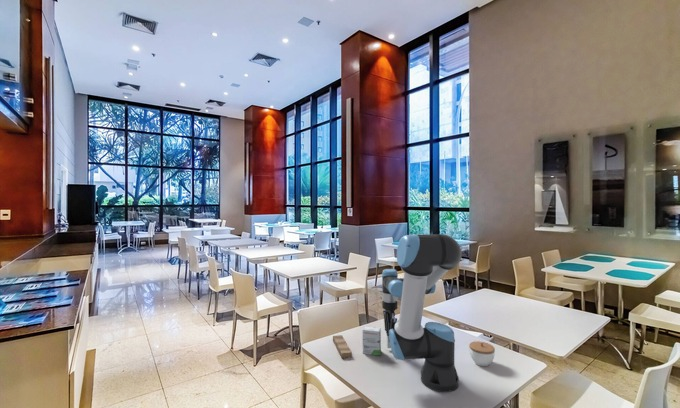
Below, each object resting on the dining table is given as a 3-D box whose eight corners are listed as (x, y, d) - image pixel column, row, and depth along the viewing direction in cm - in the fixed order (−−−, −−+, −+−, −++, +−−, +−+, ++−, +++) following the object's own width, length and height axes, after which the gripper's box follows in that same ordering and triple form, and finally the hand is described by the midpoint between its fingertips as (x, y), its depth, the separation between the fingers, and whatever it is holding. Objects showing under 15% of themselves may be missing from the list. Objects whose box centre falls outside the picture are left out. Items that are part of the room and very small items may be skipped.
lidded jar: (497, 370, 141) (497, 349, 141) (471, 367, 144) (471, 346, 144) (491, 358, 152) (491, 339, 152) (467, 356, 154) (467, 336, 154)
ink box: (381, 351, 159) (381, 327, 159) (379, 356, 155) (379, 331, 155) (364, 349, 162) (364, 325, 162) (362, 353, 157) (362, 329, 157)
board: (351, 357, 153) (351, 352, 153) (341, 358, 152) (341, 353, 152) (341, 339, 173) (341, 335, 173) (332, 340, 172) (332, 336, 172)
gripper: (402, 304, 155) (402, 352, 155) (391, 296, 167) (391, 341, 168) (387, 305, 153) (387, 354, 153) (378, 297, 166) (378, 342, 166)
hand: (389, 347), depth 160 cm, fingers closed
